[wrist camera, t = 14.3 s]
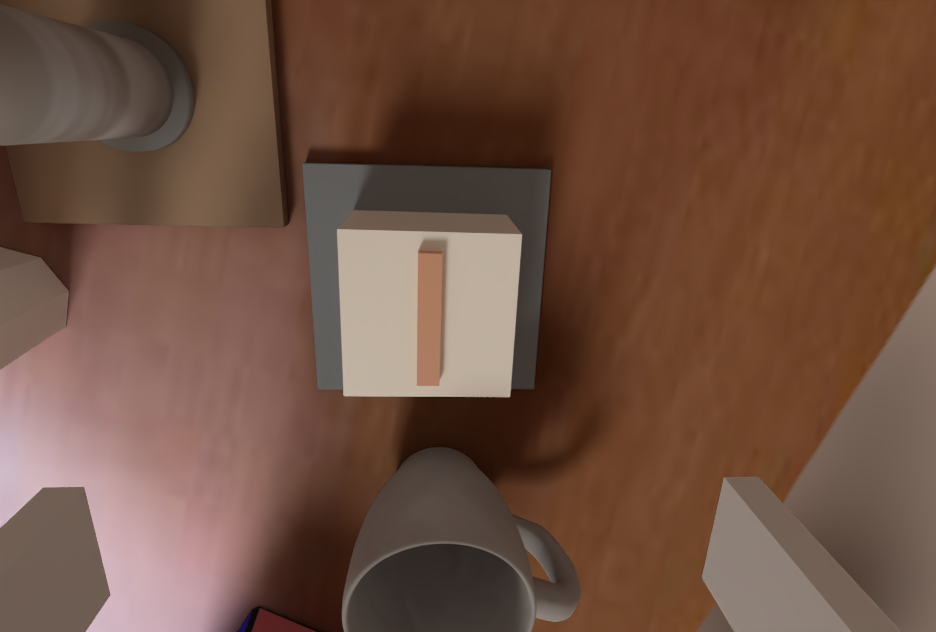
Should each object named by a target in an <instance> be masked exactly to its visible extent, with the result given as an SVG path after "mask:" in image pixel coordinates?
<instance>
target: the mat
mask: <svg viewBox="0 0 936 632" xmlns="http://www.w3.org/2000/svg"><path fill="white" fill-rule="evenodd" d="M302 166H303V180H304V195H305V209H306V224H307V238H308V253H309V267H310V282H311V296H312V311H313V326H314V340H315V355H316V369H317V384H318V390H332V389H343V368H342V343H341V318H340V294H339V269H338V244H337V228H338V227H339V226H340V225H341V224H342V223H343V221H344V220H345V219H346V218H347V217H348V216H349V215H350V213H351V212H352V211H353V210H368V211H401V212H434V213H467V214H500V215H507V216H508V217H509V218H510V220H511V221H512V222H513V223H514V225H515V226H516V227H517V228H518V230H519V231H520V232H521V233H522V244H521V257H520V271H519V284H518V298H517V311H516V325H515V338H514V352H513V365H512V379H511V389H534V382H535V370H536V357H537V344H538V332H539V319H540V306H541V294H542V281H543V268H544V256H545V243H546V230H547V218H548V205H549V192H550V180H551V170H550V169H532V168H494V167H456V166H419V165H381V164H343V163H302Z"/></svg>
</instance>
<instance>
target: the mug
mask: <svg viewBox="0 0 936 632" xmlns="http://www.w3.org/2000/svg"><path fill="white" fill-rule="evenodd" d="M525 549H527V550H528V551H529V552H530V553H531V554H532V555H533V556H534V557H535V558H536V559H537V560H538V561H539V563H540V564H541V566H542V567H543V569H544V570H545V572H546V573H547V575H548V576H549V578H550V580H551V582H548V581H545V580H542V579H539V578H535V577H532V573H531V569H530V565H529V562H528V558H527V554H526V551H525ZM580 595H581V591H580V585H579V580H578V577H577V573H576V570H575V567H574V565H573V563H572V562H571V560H570V558H569V557H568V556H567V554H566V553H565V551H564V550H563V548H562V547H561V546H560V545H559V543H558V542H557V541H556V539H555V538H554V537H553V536H552V535H551V534H550V533H549V532H548V531H547V530H546V529H545V528H543V527H542V526H540V525H538V524H536V523H533V522H531V521H528V520H525V519H523V518H520V517H518V516H515V515H512V514H511V512H510V510H509V508H508V506H507V504H506V502H505V501H504V499H503V497H502V496H501V494H500V493H499V491H498V490H497V488H496V487H495V486H494V484H493V483H492V482H491V481H490V480H489V478H488V477H487V476H486V475H485V474H484V473H483V472H481V471H480V470H479V469H478V468H477V466H476V465H475V463H474V462H473V461H472V460H471V459H470V458H469V457H468V456H466V455H465V454H463V453H462V452H460V451H457V450H455V449H451V448H446V447H432V448H427V449H423V450H420V451H418V452H416V453H414V454H412V455H411V456H409V457H408V458H407V459H406V460H405V461H404V462H403V463H402V464H401V466H400V467H399V469H398V471H397V472H396V473H395V474H394V475H393V476H392V477H391V478H390V479H389V480H388V481H387V482H386V484H385V485H384V486H383V487H382V489H381V490H380V492H379V493H378V495H377V496H376V498H375V500H374V501H373V503H372V505H371V507H370V509H369V511H368V513H367V515H366V517H365V519H364V522H363V524H362V527H361V529H360V532H359V535H358V537H357V540H356V544H355V547H354V550H353V554H352V557H351V561H350V565H349V570H348V574H347V578H346V583H345V588H344V594H343V602H342V624H343V629H344V632H531V631H532V629H533V626H534V623H535V619H536V618H539V619H543V620H547V621H551V622H558V621H563V620H565V619H567V618H569V617H570V616H571V615H572V613H573V612H574V610H575V608H576V607H577V604H578V602H579V599H580Z"/></svg>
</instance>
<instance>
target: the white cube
mask: <svg viewBox="0 0 936 632" xmlns="http://www.w3.org/2000/svg"><path fill="white" fill-rule="evenodd" d="M337 244H338V269H339V294H340V318H341V343H342V368H343V393H344V396H405V397H510V392H511V379H512V365H513V352H514V338H515V325H516V311H517V298H518V284H519V271H520V257H521V244H522V233H521V232H520V231H519V230H518V228H517V227H516V226H515V225H514V223H513V222H512V221H511V220H510V218H509V217H508V216H507V215H500V214H467V213H434V212H401V211H368V210H353V211H352V212H351V213H350V215H349V216H348V217H347V218H346V219H345V220H344V221H343V223H342V224H341V225H340V226H339V227H338V228H337Z"/></svg>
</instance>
